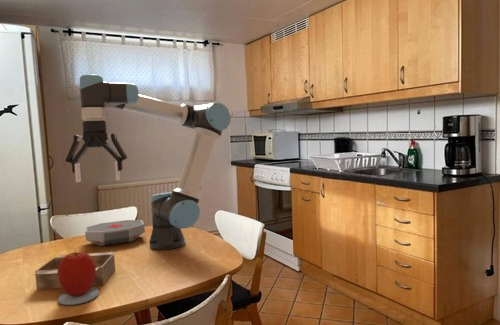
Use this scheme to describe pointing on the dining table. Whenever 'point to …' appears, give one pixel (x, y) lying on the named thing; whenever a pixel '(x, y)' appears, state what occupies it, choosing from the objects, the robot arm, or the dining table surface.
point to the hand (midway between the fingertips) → (98, 181)
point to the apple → (77, 273)
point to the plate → (78, 297)
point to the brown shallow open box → (49, 271)
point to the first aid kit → (114, 232)
